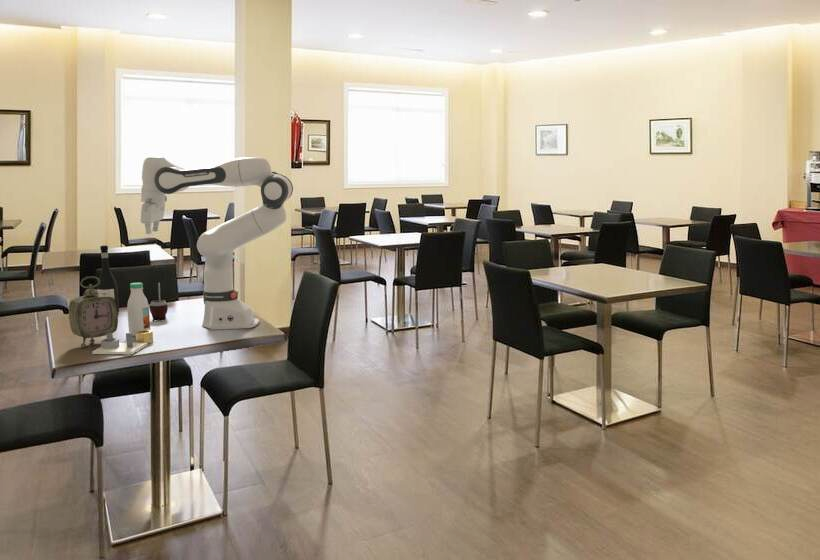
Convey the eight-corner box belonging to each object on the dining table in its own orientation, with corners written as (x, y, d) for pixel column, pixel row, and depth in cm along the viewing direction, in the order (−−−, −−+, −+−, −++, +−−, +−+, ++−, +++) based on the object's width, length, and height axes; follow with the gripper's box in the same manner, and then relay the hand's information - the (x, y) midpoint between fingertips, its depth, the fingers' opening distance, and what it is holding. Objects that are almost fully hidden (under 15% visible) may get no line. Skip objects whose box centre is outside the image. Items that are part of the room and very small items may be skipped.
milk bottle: (137, 337, 264) (134, 285, 261) (124, 335, 268) (120, 283, 265) (155, 333, 270) (151, 282, 267) (142, 331, 275) (138, 280, 271)
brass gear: (154, 340, 260) (154, 330, 259) (148, 344, 254) (148, 333, 254) (140, 340, 260) (139, 330, 259) (134, 344, 255) (133, 333, 254)
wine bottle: (114, 315, 303) (109, 246, 298) (96, 315, 303) (90, 246, 298) (122, 311, 311) (117, 244, 306) (104, 311, 311) (99, 244, 306)
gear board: (147, 346, 252) (145, 329, 251) (132, 355, 240) (131, 337, 239) (109, 345, 253) (107, 329, 252) (92, 354, 241) (91, 337, 240)
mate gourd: (156, 322, 290) (154, 286, 287) (146, 319, 294) (143, 284, 292) (172, 319, 296) (170, 284, 293) (161, 316, 300) (159, 282, 298)
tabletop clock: (80, 350, 247) (74, 280, 243) (69, 345, 253) (63, 277, 249) (120, 342, 258) (114, 275, 254) (108, 338, 264) (103, 272, 260)
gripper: (154, 200, 265) (152, 236, 268) (167, 196, 285) (166, 230, 288) (137, 198, 265) (135, 235, 267) (152, 195, 285) (150, 229, 287)
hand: (151, 232), depth 278 cm, fingers open, 8 cm apart
